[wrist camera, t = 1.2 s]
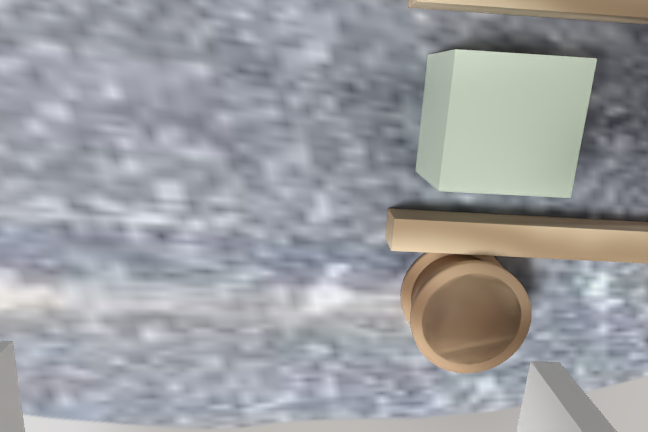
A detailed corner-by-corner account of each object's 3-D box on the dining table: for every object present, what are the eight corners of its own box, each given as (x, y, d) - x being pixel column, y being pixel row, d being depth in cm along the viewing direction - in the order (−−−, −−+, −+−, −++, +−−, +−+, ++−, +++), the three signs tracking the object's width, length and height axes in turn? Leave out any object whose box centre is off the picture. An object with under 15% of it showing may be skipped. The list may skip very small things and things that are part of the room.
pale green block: (427, 54, 30) (455, 49, 24) (542, 62, 31) (597, 58, 25) (415, 170, 32) (438, 191, 26) (523, 176, 32) (570, 198, 27)
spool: (406, 239, 33) (418, 260, 29) (514, 245, 33) (540, 266, 30) (395, 338, 35) (406, 370, 31) (497, 342, 35) (520, 375, 31)
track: (411, -31, 29) (431, -52, 24) (879, 4, 30) (988, -10, 25) (385, 237, 33) (398, 265, 28) (797, 258, 34) (877, 288, 29)
